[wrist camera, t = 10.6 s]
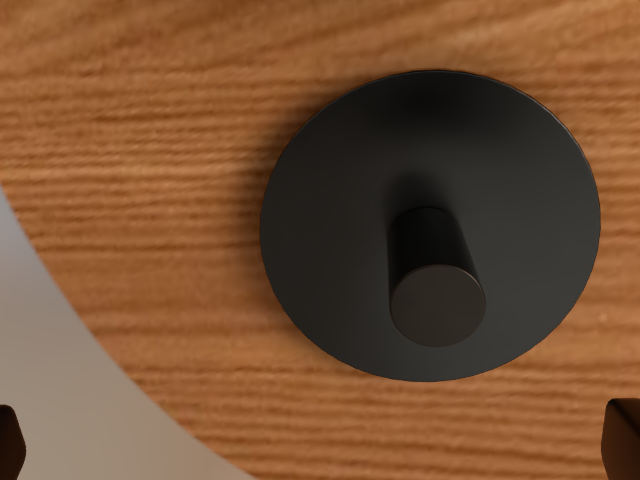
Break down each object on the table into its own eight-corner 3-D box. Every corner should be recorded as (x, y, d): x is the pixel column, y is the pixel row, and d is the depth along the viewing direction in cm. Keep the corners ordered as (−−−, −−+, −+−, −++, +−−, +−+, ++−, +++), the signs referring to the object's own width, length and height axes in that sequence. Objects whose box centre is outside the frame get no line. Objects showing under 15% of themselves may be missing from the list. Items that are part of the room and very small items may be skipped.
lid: (235, 317, 22) (194, 411, 17) (311, 20, 18) (286, 31, 13) (511, 397, 22) (549, 512, 17) (650, 123, 18) (753, 172, 13)
